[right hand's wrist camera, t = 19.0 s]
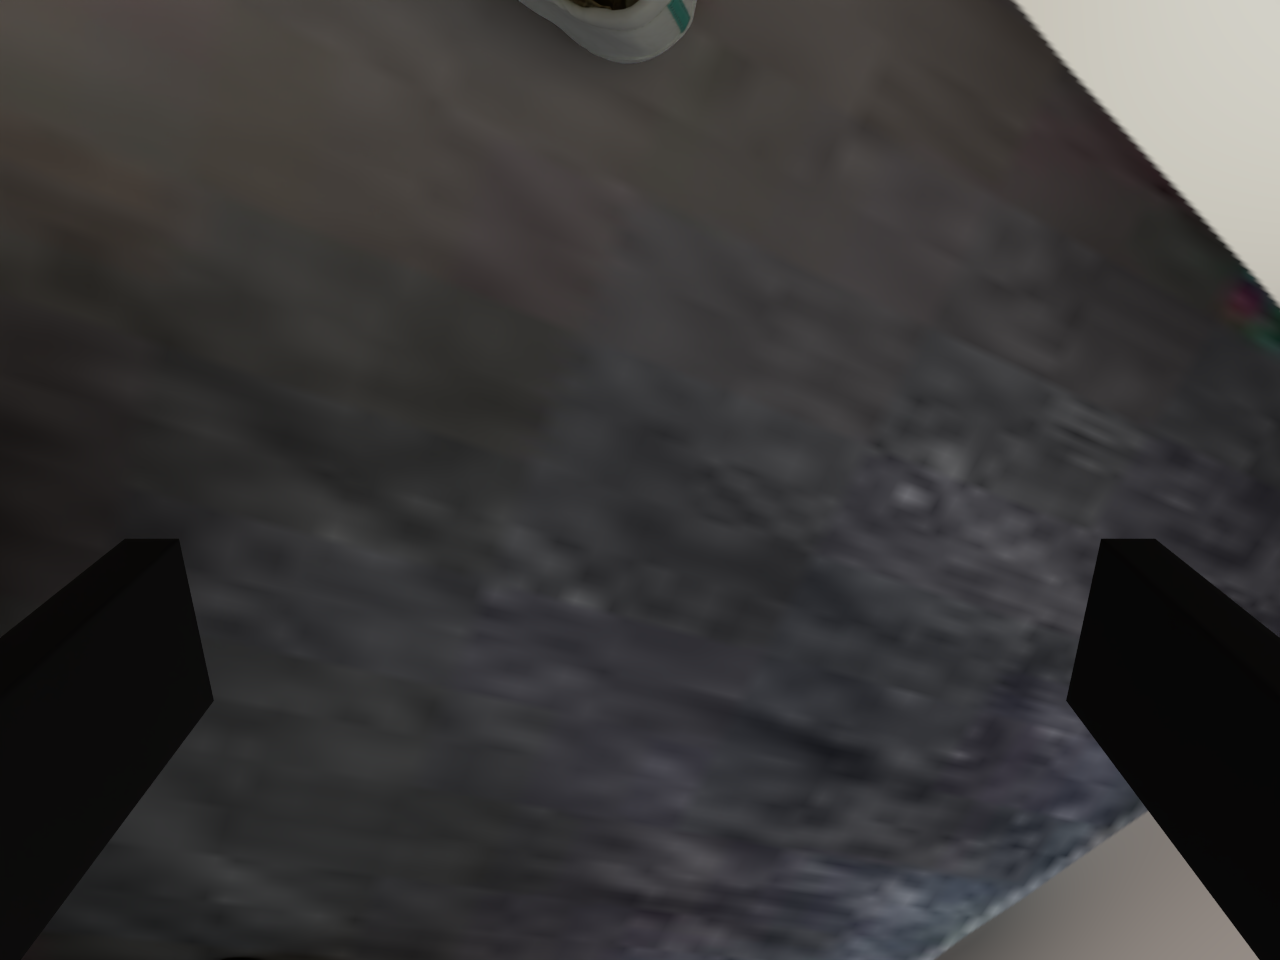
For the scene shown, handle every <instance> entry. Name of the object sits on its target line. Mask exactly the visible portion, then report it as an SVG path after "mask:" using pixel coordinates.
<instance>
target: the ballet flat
mask: <svg viewBox="0 0 1280 960" xmlns="http://www.w3.org/2000/svg"><path fill="white" fill-rule="evenodd" d="M518 1H520V2H521V3H522V4H524V5H525V6H526V7H528V8H529V9H531V10H532V11H534V12H535V13H537V14H538V15H540V16H542V17H544V18H545V19H547V20H549V21H551V22H552V23H554V24H555V25H556V26H558V27H559V28H560V29H562V30H563V31H564V32H565V33H566V34H567V35H568V36H569V37H570V38H571V39H573V40H574V41H575V42H576V43H578V44H579V45H580V46H582V47H583V48H585V49H587V50H588V51H589V52H590V53H592V54H594V55H596V56H599V57H602V58H604V59H607V60H609V61H612V62H616V63H621V64H634V63H641V62H644V61H647V60H650V59H652V58H654V57H656V56H658V55H660V54H662V53H664V52H665V51H667V50H668V49H669V48H670V47H671V46H673V45H674V44H675V43H676V42H677V41H678V40H679V39H680V38H681V37H683V36H684V34H685V33H686V32H687V30H688V29H689V27H690V25H691V23H692V21H693V17H694V12H695V7H696V3H697V0H518Z"/></svg>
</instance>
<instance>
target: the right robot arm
mask: <svg viewBox="0 0 1280 960" xmlns="http://www.w3.org/2000/svg"><path fill="white" fill-rule="evenodd" d="M213 701H214V700H213V695H212V690H211V686H210V681H209V676H208V672H207V667H206V663H205V658H204V653H203V649H202V644H201V639H200V635H199V630H198V626H197V621H196V616H195V612H194V607H193V602H192V598H191V593H190V589H189V584H188V579H187V575H186V570H185V565H184V561H183V556H182V552H181V547H180V542H179V539H124V540H123V541H122V542H120V543H119V544H118V545H117V546H115V547H114V548H113V549H112V550H110V551H109V552H108V553H106V554H105V555H104V556H103V557H101V558H100V559H99V560H98V561H96V562H95V563H94V564H93V565H91V566H90V567H89V568H88V569H86V570H85V571H84V572H83V573H81V574H80V575H79V576H78V577H76V578H75V579H74V580H73V581H71V582H70V583H69V584H68V585H66V586H65V587H64V588H62V589H61V590H60V591H59V592H57V593H56V594H55V595H54V596H52V597H51V598H50V599H49V600H47V601H46V602H45V603H44V604H42V605H41V606H40V607H39V608H37V609H36V610H35V611H34V612H32V613H31V614H30V615H29V616H27V617H26V618H25V619H24V620H22V621H21V622H20V623H18V624H17V625H16V626H15V627H13V628H12V629H11V630H10V631H8V632H7V633H6V634H5V635H3V636H2V637H1V638H0V960H21V958H22V957H23V956H24V954H25V953H26V952H27V950H28V949H29V948H30V946H31V945H32V944H33V942H34V941H35V940H36V938H37V937H38V936H39V934H40V933H41V932H42V930H43V929H44V928H45V926H46V925H47V923H48V922H49V921H50V919H51V918H52V917H53V915H54V914H55V913H56V911H57V910H58V909H59V907H60V906H61V905H62V903H63V902H64V901H65V899H66V898H67V897H68V895H69V894H70V893H71V891H72V890H73V889H74V887H75V886H76V885H77V883H78V882H79V881H80V879H81V878H82V877H83V875H84V874H85V873H86V871H87V870H88V869H89V867H90V866H91V865H92V863H93V862H94V860H95V859H96V858H97V856H98V855H99V854H100V852H101V851H102V850H103V848H104V847H105V846H106V844H107V843H108V842H109V840H110V839H111V838H112V836H113V835H114V834H115V832H116V831H117V830H118V828H119V827H120V826H121V824H122V823H123V822H124V820H125V819H126V818H127V816H128V815H129V814H130V812H131V811H132V810H133V808H134V807H135V806H136V804H137V803H138V801H139V800H140V799H141V797H142V796H143V795H144V793H145V792H146V791H147V789H148V788H149V787H150V785H151V784H152V783H153V781H154V780H155V779H156V777H157V776H158V775H159V773H160V772H161V771H162V769H163V768H164V767H165V765H166V764H167V763H168V761H169V760H170V759H171V757H172V756H173V755H174V753H175V752H176V751H177V749H178V748H179V747H180V745H181V744H182V743H183V741H184V740H185V738H186V737H187V736H188V734H189V733H190V732H191V730H192V729H193V728H194V726H195V725H196V724H197V722H198V721H199V720H200V718H201V717H202V716H203V714H204V713H205V712H206V710H207V709H208V708H209V706H210V705H211V704H212V702H213ZM1066 701H1067V702H1068V704H1069V705H1070V706H1071V708H1072V709H1073V710H1074V712H1075V713H1076V714H1077V716H1078V717H1079V718H1080V720H1081V721H1082V722H1083V724H1084V725H1085V726H1086V728H1087V729H1088V730H1089V732H1090V733H1091V734H1092V736H1093V737H1094V738H1095V740H1096V741H1097V743H1098V744H1099V745H1100V747H1101V748H1102V749H1103V751H1104V752H1105V753H1106V755H1107V756H1108V757H1109V759H1110V760H1111V761H1112V763H1113V764H1114V765H1115V767H1116V768H1117V769H1118V771H1119V772H1120V773H1121V775H1122V776H1123V777H1124V779H1125V780H1126V781H1127V783H1128V784H1129V785H1130V787H1131V788H1132V789H1133V791H1134V792H1135V793H1136V795H1137V796H1138V797H1139V799H1140V800H1141V801H1142V803H1143V804H1144V806H1145V807H1146V808H1147V810H1148V811H1149V812H1150V814H1151V815H1152V816H1153V817H1154V819H1155V820H1156V822H1157V823H1158V824H1159V826H1160V827H1161V828H1162V830H1163V831H1164V832H1165V834H1166V835H1167V836H1168V838H1169V839H1170V840H1171V842H1172V843H1173V844H1174V846H1175V847H1176V848H1177V850H1178V851H1179V852H1180V854H1181V855H1182V856H1183V858H1184V859H1185V860H1186V862H1187V863H1188V865H1189V866H1190V867H1191V868H1192V870H1193V871H1194V872H1195V874H1196V875H1197V877H1198V878H1199V879H1200V881H1201V882H1202V883H1203V885H1204V886H1205V887H1206V889H1207V890H1208V891H1209V893H1210V894H1211V895H1212V897H1213V898H1214V899H1215V901H1216V902H1217V903H1218V905H1219V906H1220V907H1221V909H1222V910H1223V911H1224V913H1225V914H1226V915H1227V917H1228V918H1229V919H1230V921H1231V922H1232V923H1233V925H1234V926H1235V928H1236V929H1237V930H1238V932H1239V933H1240V934H1241V936H1242V937H1243V938H1244V940H1245V941H1246V942H1247V943H1248V945H1249V946H1250V948H1251V949H1252V950H1253V952H1254V953H1255V954H1256V956H1257V957H1258V958H1259V960H1280V638H1279V637H1278V636H1277V635H1275V634H1274V633H1273V632H1272V631H1270V630H1269V629H1268V628H1267V627H1265V626H1264V625H1263V624H1262V623H1260V622H1259V621H1258V620H1256V619H1255V618H1254V617H1253V616H1251V615H1250V614H1249V613H1248V612H1246V611H1245V610H1244V609H1243V608H1241V607H1240V606H1239V605H1238V604H1236V603H1235V602H1234V601H1233V600H1231V599H1230V598H1229V597H1228V596H1226V595H1225V594H1224V593H1223V592H1221V591H1220V590H1219V589H1218V588H1216V587H1215V586H1214V585H1212V584H1211V583H1210V582H1209V581H1207V580H1206V579H1205V578H1204V577H1202V576H1201V575H1200V574H1199V573H1197V572H1196V571H1195V570H1194V569H1192V568H1191V567H1190V566H1189V565H1187V564H1186V563H1185V562H1184V561H1182V560H1181V559H1180V558H1179V557H1177V556H1176V555H1175V554H1174V553H1172V552H1171V551H1170V550H1168V549H1167V548H1166V547H1165V546H1163V545H1162V544H1161V543H1160V542H1158V541H1157V540H1156V539H1101V542H1100V547H1099V552H1098V556H1097V561H1096V565H1095V570H1094V575H1093V579H1092V584H1091V589H1090V593H1089V598H1088V602H1087V607H1086V612H1085V616H1084V621H1083V626H1082V630H1081V635H1080V639H1079V644H1078V649H1077V653H1076V658H1075V663H1074V667H1073V672H1072V676H1071V681H1070V686H1069V690H1068V695H1067V700H1066Z"/></svg>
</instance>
